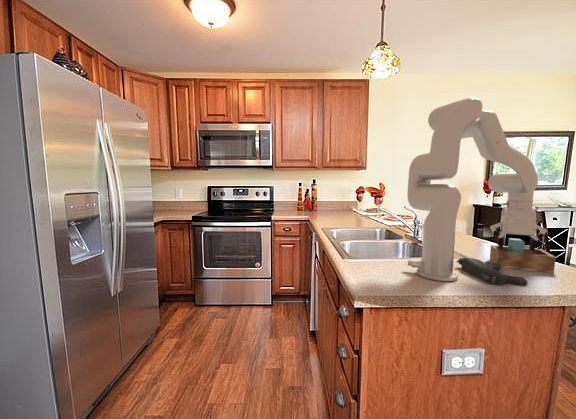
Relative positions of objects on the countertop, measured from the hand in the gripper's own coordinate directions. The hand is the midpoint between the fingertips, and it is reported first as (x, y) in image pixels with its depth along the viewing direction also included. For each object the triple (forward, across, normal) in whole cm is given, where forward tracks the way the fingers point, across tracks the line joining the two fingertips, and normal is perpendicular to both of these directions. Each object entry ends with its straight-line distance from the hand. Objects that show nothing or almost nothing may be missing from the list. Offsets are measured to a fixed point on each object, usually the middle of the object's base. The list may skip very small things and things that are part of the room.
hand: (515, 248), depth 106 cm
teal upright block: (+5, 0, -2) cm, 6 cm away
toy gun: (+7, -12, -20) cm, 24 cm away
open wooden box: (+6, +1, -2) cm, 7 cm away
